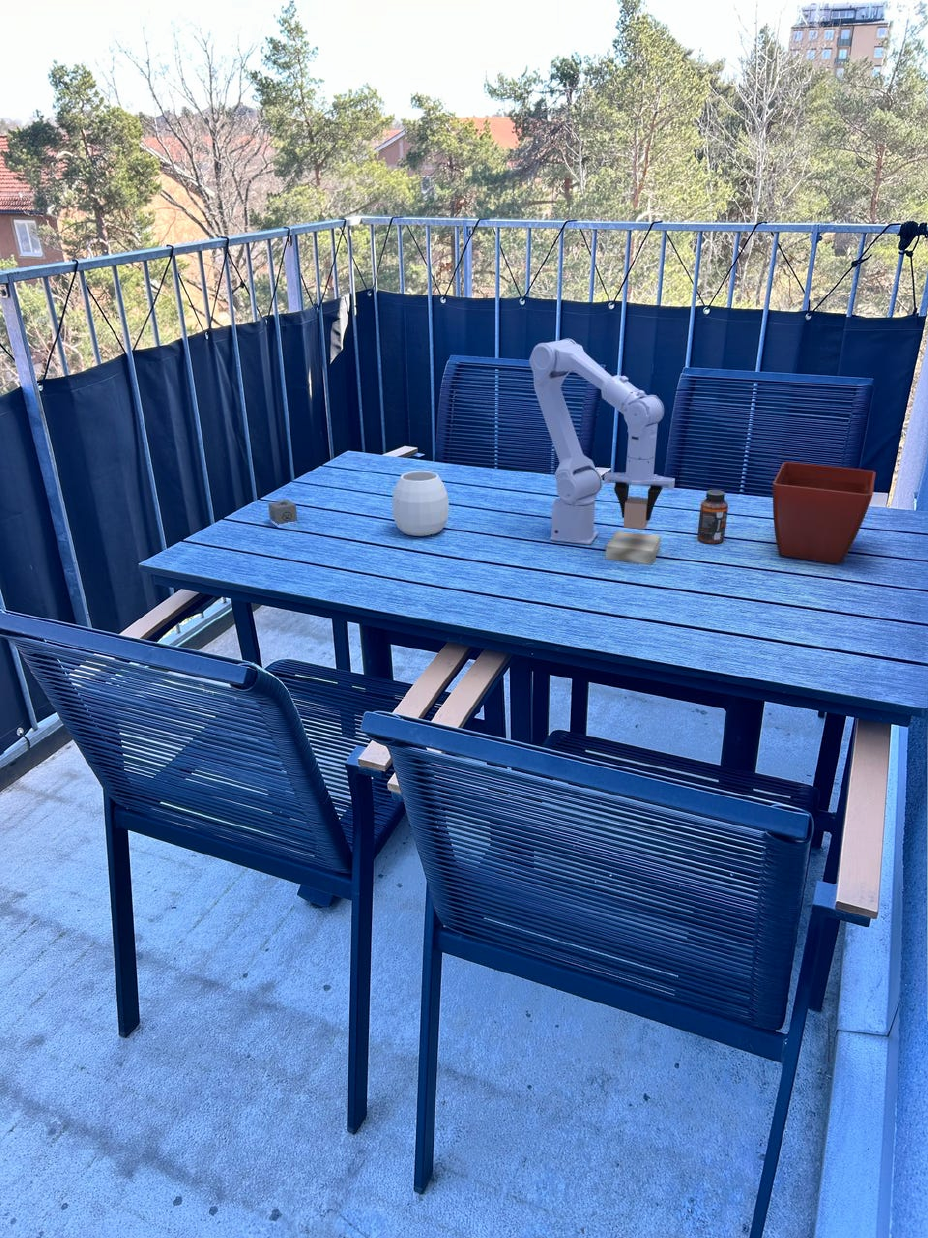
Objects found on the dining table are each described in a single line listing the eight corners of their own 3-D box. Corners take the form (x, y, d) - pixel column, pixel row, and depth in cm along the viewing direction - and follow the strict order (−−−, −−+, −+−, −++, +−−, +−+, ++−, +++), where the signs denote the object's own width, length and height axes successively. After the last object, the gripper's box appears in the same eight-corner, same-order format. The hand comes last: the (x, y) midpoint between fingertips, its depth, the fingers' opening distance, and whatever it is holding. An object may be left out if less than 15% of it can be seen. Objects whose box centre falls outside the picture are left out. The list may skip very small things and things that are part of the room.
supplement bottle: (724, 545, 199) (730, 496, 194) (697, 543, 200) (702, 495, 195) (723, 536, 204) (728, 488, 199) (696, 534, 205) (701, 487, 200)
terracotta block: (623, 527, 190) (625, 502, 188) (627, 520, 194) (629, 496, 192) (644, 529, 189) (646, 504, 187) (648, 522, 193) (650, 498, 190)
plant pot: (862, 543, 199) (876, 469, 192) (857, 573, 183) (872, 494, 176) (773, 531, 206) (783, 460, 199) (761, 559, 191) (772, 483, 183)
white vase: (384, 536, 207) (380, 480, 201) (408, 519, 218) (405, 465, 212) (435, 543, 202) (434, 486, 196) (457, 525, 213) (456, 470, 207)
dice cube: (297, 524, 216) (295, 504, 214) (278, 528, 213) (276, 508, 211) (289, 518, 220) (287, 499, 217) (270, 522, 217) (268, 503, 215)
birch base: (605, 558, 192) (606, 545, 191) (615, 543, 201) (615, 530, 199) (651, 564, 189) (653, 551, 188) (659, 548, 197) (660, 535, 196)
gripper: (602, 457, 184) (598, 520, 190) (673, 463, 179) (667, 527, 185) (609, 449, 190) (606, 510, 196) (678, 455, 185) (672, 516, 191)
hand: (636, 517), depth 191 cm, fingers closed on terracotta block, 4 cm apart
